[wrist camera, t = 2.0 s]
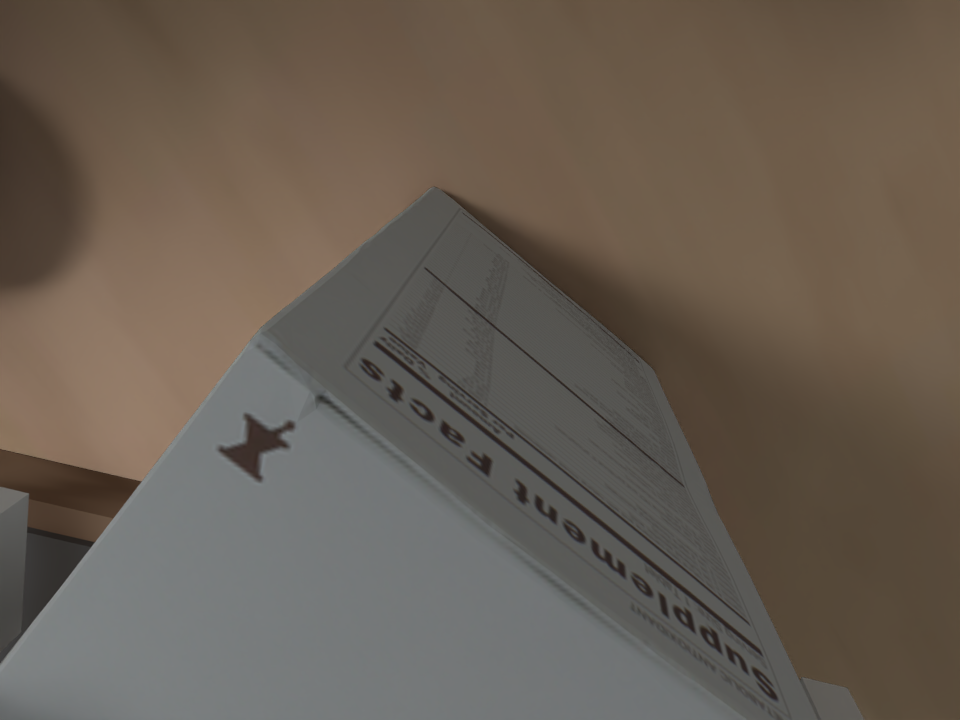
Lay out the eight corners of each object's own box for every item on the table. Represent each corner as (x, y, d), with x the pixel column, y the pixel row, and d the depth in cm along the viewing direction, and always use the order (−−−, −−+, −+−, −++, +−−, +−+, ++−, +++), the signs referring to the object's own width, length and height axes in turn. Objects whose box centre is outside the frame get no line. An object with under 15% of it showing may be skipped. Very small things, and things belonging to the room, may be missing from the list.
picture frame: (-136, 776, 33) (-196, 835, 30) (-143, 416, 28) (-215, 448, 25) (250, 866, 33) (224, 933, 30) (308, 520, 28) (284, 563, 25)
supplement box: (258, 394, 27) (-170, 822, 11) (431, 175, 24) (217, 297, 8) (480, 566, 28) (401, 1181, 12) (667, 375, 25) (888, 823, 9)
